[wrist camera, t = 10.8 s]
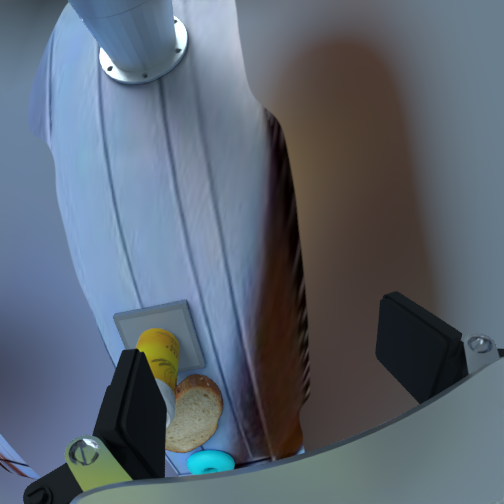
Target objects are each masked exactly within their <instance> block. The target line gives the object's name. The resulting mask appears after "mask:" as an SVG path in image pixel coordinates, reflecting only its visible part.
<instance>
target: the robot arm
mask: <svg viewBox="0 0 504 504" xmlns="http://www.w3.org/2000/svg"><path fill="white" fill-rule="evenodd" d="M68 2H69V3H70V4H71V6H72V7H73V9H74V10H75V11H76V13H77V14H78V16H79V17H80V18H81V20H82V21H83V23H84V24H85V25H86V27H87V28H88V30H89V31H90V32H91V34H92V35H93V37H94V38H95V39H96V41H97V42H98V43H99V45H100V46H101V49H100V56H99V58H100V64H101V66H102V68H103V70H104V71H105V73H106V74H107V75H108V76H109V77H110V78H112V79H113V80H115V81H117V82H120V83H123V84H142V83H146V82H150V81H153V80H155V79H158V78H160V77H162V76H163V75H165V74H167V73H168V72H169V71H171V70H172V69H173V68H174V67H175V66H176V65H177V64H178V63H179V62H180V60H181V59H182V57H183V56H184V54H185V51H186V49H187V44H188V35H187V30H186V28H185V25H184V24H183V23H182V22H181V20H179V19H178V18H177V17H176V16H174V15H173V8H172V0H68ZM178 52H180V53H178ZM111 70H112V71H111ZM146 76H148V77H146ZM144 77H146V78H144ZM461 337H462V333H461V332H459V331H458V330H456V329H455V328H453V327H452V326H450V325H449V324H447V323H446V322H444V321H442V320H441V319H440V318H438V317H436V316H435V315H433V314H432V313H430V312H429V311H427V310H426V309H424V308H423V307H421V306H420V305H418V304H416V303H415V302H413V301H411V300H410V299H408V298H407V297H405V296H404V295H402V294H401V293H399V292H392V293H389V294H386V295H384V296H383V299H382V300H381V301H380V311H379V322H378V333H377V343H376V357H377V359H378V360H379V361H380V362H381V363H382V364H383V366H384V367H385V368H386V369H387V370H388V371H389V372H390V373H391V374H392V375H393V376H394V377H395V378H396V379H397V380H398V381H399V382H400V383H401V384H402V386H403V387H404V388H405V389H406V390H407V391H408V392H409V393H410V394H411V395H412V396H413V397H414V398H415V399H416V400H417V401H418V403H419V404H420V405H418V406H416V407H414V408H412V409H411V410H409V411H407V412H405V413H403V414H401V415H399V416H397V417H395V418H393V419H391V420H389V421H387V422H384V423H382V424H380V425H378V426H376V427H373V428H371V429H369V430H367V431H364V432H362V433H359V434H357V435H354V436H352V437H350V438H347V439H344V440H342V441H339V442H336V443H333V444H331V445H328V446H325V447H322V448H319V449H316V450H313V451H310V452H306V453H303V454H299V455H296V456H292V457H289V458H285V459H281V460H277V461H273V462H269V463H265V464H260V465H255V466H251V467H245V468H240V469H234V470H228V471H222V472H215V473H208V474H200V475H191V476H180V477H166V478H165V443H166V421H167V406H166V403H165V400H164V398H163V396H162V394H161V391H160V389H159V387H158V385H157V382H156V380H155V377H154V375H153V373H152V370H151V368H150V365H149V363H148V360H147V358H146V355H145V353H144V352H140V351H139V349H137V348H135V349H127V350H123V351H122V353H121V356H120V359H119V362H118V364H117V367H116V370H115V373H114V376H113V379H112V382H111V385H109V386H108V387H107V389H106V392H105V396H104V398H103V402H102V405H101V408H100V411H99V414H98V418H97V421H96V425H95V428H94V431H93V435H92V436H91V435H85V436H80V437H77V438H75V439H74V440H72V441H71V442H70V443H69V444H68V445H67V447H66V450H65V459H66V462H67V463H65V464H63V465H62V466H60V467H59V468H57V469H55V470H54V471H52V472H50V473H49V474H47V475H45V476H44V477H42V478H40V479H38V480H37V481H35V482H33V483H31V484H30V485H29V486H28V487H27V488H26V490H25V492H24V495H23V501H24V504H504V349H497V347H496V344H495V342H494V340H493V339H491V338H490V337H488V336H486V335H483V334H471V335H469V336H467V337H466V338H465V340H464V342H462V341H461Z"/></svg>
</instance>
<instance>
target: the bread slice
mask: <svg viewBox="0 0 504 504" xmlns="http://www.w3.org/2000/svg"><path fill="white" fill-rule="evenodd" d="M222 408H223V399H222V395H221V391H220V389H219V388H218V386H217V385H216V384H215V383H214V382H213V381H212V380H211V379H209V378H208V377H207V376H204V375H197V374H193V375H190V376H188V377H187V378H186V379H185V380H184V381H182V382H181V383H180V384H179V385H177V388H176V402H175V416H174V418H173V420H172V421H171V422H170V424H169V426H168V427H167V428H166V443H165V450H169V451H172V452H177V453H186V452H189V451H192V450H194V449H195V448H197V447H199V446H200V445H202V444H204V443H205V442H206V441H207V440H209V439H210V437H211V436H212V435H213V434H214V433H215V431H216V430H217V426H218V425H217V422H218V420H219V418H220V416H221V414H222Z"/></svg>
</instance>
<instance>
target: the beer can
mask: <svg viewBox="0 0 504 504" xmlns="http://www.w3.org/2000/svg"><path fill="white" fill-rule="evenodd" d="M136 348H137V349H139V351H140V352H144V353H145V355H146V358H147V360H148V363H149V365H150V368H151V370H152V373H153V375H154V377H155V380H156V382H157V385H158V387H159V389H160V391H161V394H162V396H163V398H164V400H165V403H166V406H167V421H166V428H167V427H168V426H169V424H170V422H171V421H172V420H173V418H174V416H175V402H176V388H177V375H178V363H179V352H180V346H179V342H178V340H177V339H176V337H175V336H174V335H173V334H172V333H170V332H169V331H167V330H164V329H161V328H151V329H148V330H146V331H144V332H143V333H142V334H141V335H140V337H139V339H138V342H137V345H136Z"/></svg>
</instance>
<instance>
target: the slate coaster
mask: <svg viewBox="0 0 504 504" xmlns="http://www.w3.org/2000/svg"><path fill="white" fill-rule="evenodd" d="M113 319H114V321H115V324H116V327H117V329H118V332H119V334H120V337H121V339H122V341H123V344H124V346H125V349H126V350H127V349H135V348H136V345H137V342H138V339H139V337H140V335H141V334H142V333H143V332H144V331H146V330H148V329H151V328H161V329H164V330H167V331H169V332H170V333H172V334H173V335H174V336H175V337H176V339H177V340H178V342H179V346H180V352H179V363H178V372H183V371H189V370H194V369H200V368H205V367H206V363H205V360H204V357H203V353H202V350H201V347H200V344H199V341H198V338H197V335H196V331H195V328H194V325H193V321H192V318H191V315H190V311H189V308H188V304H187V301H186V300H182V301H177V302H172V303H167V304H162V305H157V306H152V307H147V308H142V309H137V310H132V311H126V312H121V313H116V314H115V315H114V316H113Z"/></svg>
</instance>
